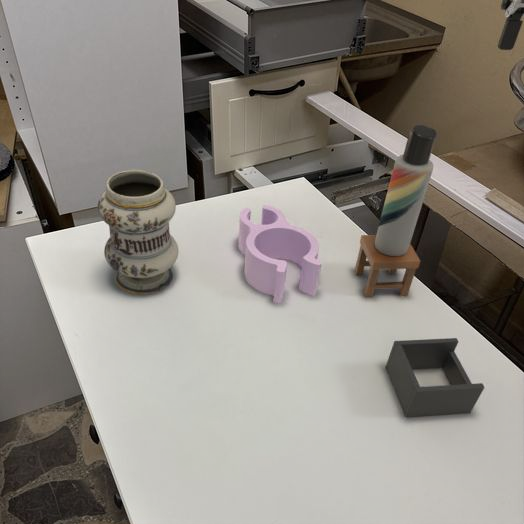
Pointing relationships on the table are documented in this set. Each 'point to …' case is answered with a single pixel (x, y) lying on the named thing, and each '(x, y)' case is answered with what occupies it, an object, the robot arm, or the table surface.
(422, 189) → the lotion bottle
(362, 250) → the stool
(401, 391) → the dark grey open box
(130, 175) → the apothecary jar
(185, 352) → the table surface
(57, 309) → the table surface
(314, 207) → the table surface
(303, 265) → the clip
